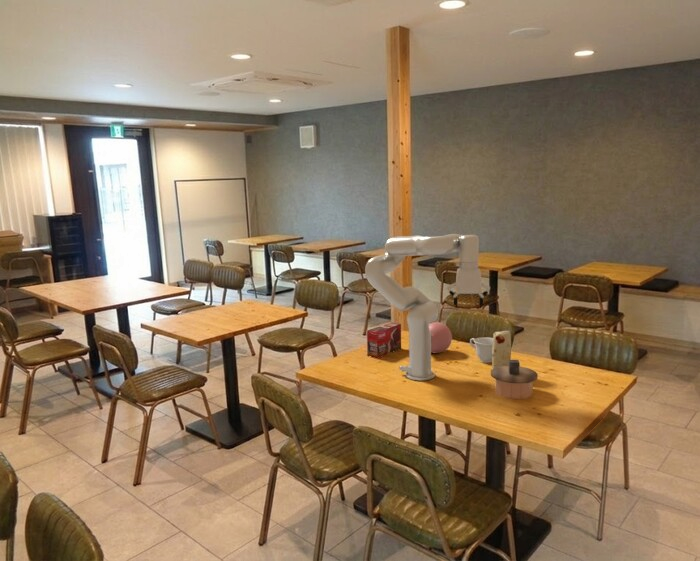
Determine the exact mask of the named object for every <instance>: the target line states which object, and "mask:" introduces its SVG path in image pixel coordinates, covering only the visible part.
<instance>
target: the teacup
mask: <svg viewBox="0 0 700 561" xmlns="http://www.w3.org/2000/svg"><path fill="white" fill-rule="evenodd" d="M473 342H474V343H473ZM469 344H470V346H471V347H472V348H474V350H475V353H476V356H477V358H479V361H480V362H481V361H482V363H484V362H485V363H487V364H489V363H492V347H493V337H487V336H486V337H483V336H482V337H481V336H480V337H477V338H474V337H473V338H470V339H469Z"/></svg>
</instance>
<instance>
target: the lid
mask: <svg viewBox="0 0 700 561" xmlns="http://www.w3.org/2000/svg"><path fill="white" fill-rule="evenodd" d="M520 365H521V364H520V360H519V359H509V366H500V367H496V368H493V369H491V370H490V376H491V377H492V378H493V379H497V380H499V381H503V382H508V383H529V382H535V381H537V380H538V376H539V374H538V373H537V372H536V370H533V369H531V368H529V367H528V368H527V367H524V366H520Z"/></svg>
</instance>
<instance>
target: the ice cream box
mask: <svg viewBox="0 0 700 561" xmlns="http://www.w3.org/2000/svg"><path fill="white" fill-rule="evenodd" d="M398 349H400V350H402V323H398V322H394V321H391V322H390V321H389V322H388V323H384V324H381V325H378V326H376V327H371V328H369V329H367V330H366V356H367V357H369V356H371V357H370V358H373V357H375V358H374V359H379V358H382V357H385V356H387V355H389V354H391V352H392V353H394V352H393V351H395V352H397V351H399V350H398ZM396 350H397V351H396ZM388 353H389V354H388ZM386 354H387V355H386ZM381 356H382V357H381ZM378 357H379V358H378Z"/></svg>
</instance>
